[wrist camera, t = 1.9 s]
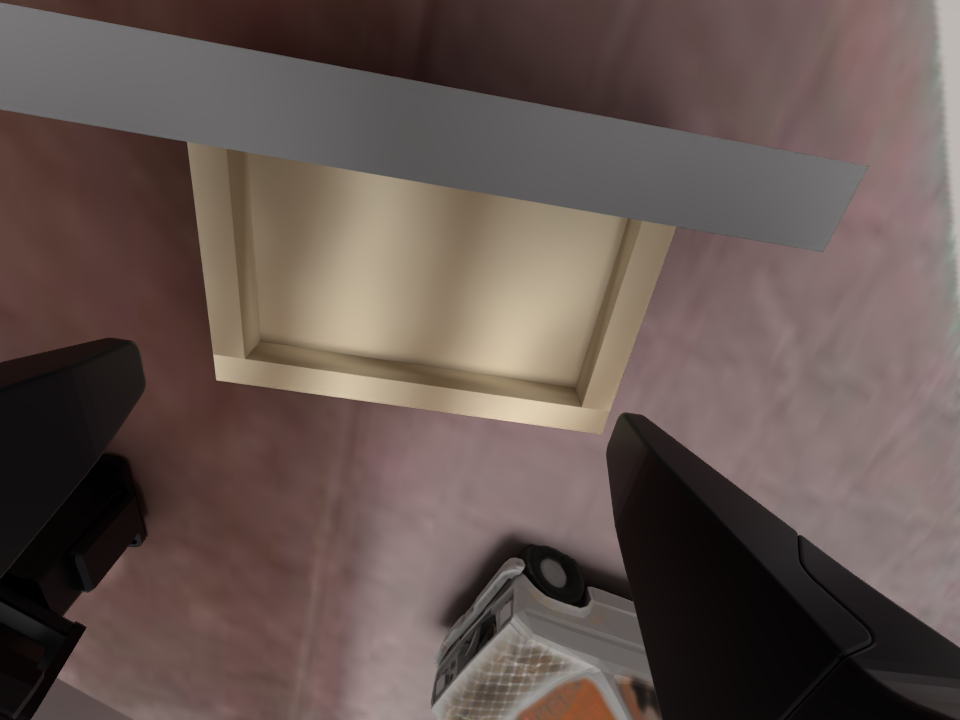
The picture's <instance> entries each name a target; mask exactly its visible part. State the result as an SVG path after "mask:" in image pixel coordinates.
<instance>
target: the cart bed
mask: <svg viewBox="0 0 960 720" xmlns="http://www.w3.org/2000/svg"><path fill="white" fill-rule="evenodd" d="M187 145H188V153H189V162H190V170H191V178H192V186H193V194H194V202H195V210H196V218H197V226H198V235H199V243H200V251H201V259H202V267H203V275H204V283H205V291H206V299H207V307H208V316H209V324H210V332H211V340H212V348H213V356H214V364H215V372H216V380H218V381H226V382H233V383H240V384H247V385H254V386H261V387H268V388H275V389H283V390H290V391H297V392H304V393H311V394H318V395H325V396H332V397H340V398H347V399H354V400H361V401H368V402H375V403H382V404H390V405H397V406H404V407H411V408H418V409H425V410H432V411H439V412H447V413H454V414H461V415H468V416H475V417H482V418H489V419H496V420H504V421H511V422H518V423H525V424H532V425H539V426H546V427H554V428H561V429H568V430H575V431H582V432H589V433H596V434H602V431H603V429H604V426H605V423H606V420H607V418H608V415H609V412H610V409H611V407H612V404H613V401H614V398H615V396H616V393H617V390H618V387H619V385H620V382H621V379H622V376H623V374H624V371H625V368H626V365H627V363H628V360H629V357H630V354H631V352H632V349H633V346H634V343H635V341H636V338H637V335H638V332H639V330H640V327H641V324H642V321H643V318H644V316H645V313H646V310H647V307H648V305H649V302H650V299H651V296H652V294H653V291H654V288H655V285H656V283H657V280H658V277H659V274H660V272H661V269H662V266H663V263H664V261H665V258H666V255H667V252H668V250H669V247H670V244H671V241H672V239H673V236H674V233H675V230H676V228H677V227H675V226H669V225H663V224H658V223H652V222H646V221H640V220H635V219H629V218H623V217H617V216H612V215H606V214H600V213H594V212H589V211H583V210H577V209H571V208H566V207H560V206H554V205H548V204H543V203H537V202H531V201H525V200H520V199H514V198H508V197H502V196H496V195H491V194H485V193H479V192H473V191H468V190H462V189H456V188H450V187H445V186H439V185H433V184H427V183H422V182H416V181H410V180H404V179H399V178H393V177H387V176H381V175H376V174H370V173H364V172H358V171H353V170H347V169H341V168H335V167H329V166H324V165H318V164H312V163H306V162H301V161H295V160H289V159H283V158H278V157H272V156H266V155H260V154H255V153H249V152H243V151H237V150H232V149H226V148H220V147H214V146H209V145H203V144H197V143H191V142H187Z"/></svg>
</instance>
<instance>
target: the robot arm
mask: <svg viewBox="0 0 960 720" xmlns="http://www.w3.org/2000/svg"><path fill="white" fill-rule="evenodd" d="M145 385H146V379H145V374H144V369H143V364H142V359H141V355H140V350H139V347H138V345H137V344H136V343H135V342H133V341H130V340H124V339H117V338H104V339H100V340H96V341H91V342H87V343H83V344H78V345H74V346H70V347H65V348H61V349H57V350H52V351H48V352H43V353H39V354H35V355H30V356H26V357H22V358H17V359H13V360H9V361H4V362H0V720H30V719H31V718H32V717H33V715H34V714H35V712H36V711H37V709H38V707H39V705H40V704H41V702H42V701H43V699H44V697H45V696H46V694H47V692H48V691H49V689H50V687H51V686H52V684H53V683H54V681H55V679H56V678H57V676H58V674H59V673H60V671H61V669H62V668H63V666H64V664H65V663H66V661H67V659H68V658H69V656H70V654H71V653H72V651H73V649H74V648H75V646H76V644H77V643H78V641H79V639H80V638H81V636H82V634H83V633H84V631H85V629H86V626H84V625H82V624H80V623H79V622H77V621H76V622H72V621H70V620H68V619H66V618H65V617H63V615H64V614H65V613H66V612H67V610H68V609H69V608H70V607H71V606H72V604H73V603H74V602H75V601H76V599H77V598H78V597H79V596H80V594H81V593H82V592H86V593H88V592H90V591H92V590H93V589H95V588H96V586H97V585H98V584H99V583H100V581H101V580H102V579H103V577H104V576H105V575H106V574H107V572H108V571H109V570H110V569H111V567H112V566H113V565H114V564H115V562H116V561H117V560H118V558H119V557H120V556H121V555H122V553H123V552H124V551H125V550H126V548H127V547H128V546H129V547H139V546H140V545H141V544H142V543H143V542H144V540H145V539H146V536H145V532H144V528H143V524H142V520H141V516H140V512H139V508H138V504H137V500H136V497H135V493H134V489H133V485H132V481H131V477H130V473H129V469H128V465H127V463H126V462H125V461H124V460H122V459H121V458H118V457H112V456H104V455H102V454H103V452H104V451H105V450H106V448H107V447H108V445H109V444H110V442H111V441H112V439H113V438H114V436H115V435H116V433H117V432H118V430H119V429H120V427H121V426H122V424H123V423H124V421H125V420H126V418H127V417H128V415H129V414H130V412H131V411H132V409H133V407H134V406H135V404H136V403H137V401H138V400H139V398H140V397H141V395H142V394H143V392H144V389H145ZM606 458H607V467H608V475H609V483H610V491H611V499H612V507H613V516H614V522H615V528H616V533H617V537H618V541H619V546H620V550H621V554H622V558H623V562H624V566H625V570H626V574H627V578H628V582H629V586H630V590H631V595H632V599H633V603H634V607H635V611H636V615H637V619H638V623H639V627H640V631H641V635H642V640H643V644H644V648H645V652H646V656H647V660H648V664H649V668H650V672H651V676H652V680H653V685H654V689H655V693H656V697H657V701H658V705H659V709H660V713H661V717H662V720H960V647H958V646H957V645H955V644H954V643H952V642H951V641H950V640H948V639H947V638H945V637H944V636H942V635H941V634H939V633H938V632H936V631H935V630H933V629H932V628H931V627H929V626H928V625H926V624H925V623H923V622H922V621H920V620H919V619H917V618H916V617H914V616H913V615H912V614H910V613H909V612H907V611H906V610H904V609H903V608H901V607H900V606H898V605H897V604H895V603H894V602H893V601H891V600H890V599H888V598H887V597H885V596H884V595H883V594H881V593H880V592H878V591H877V590H875V589H874V588H873V587H871V586H870V585H868V584H867V583H865V582H864V581H863V580H861V579H860V578H858V577H857V576H855V575H854V574H853V573H851V572H850V571H849V570H847V569H846V568H845V567H843V566H842V565H841V564H839V563H838V562H836V561H835V560H834V559H832V558H831V557H830V556H828V555H827V554H826V553H824V552H823V551H822V550H820V549H819V548H818V547H816V546H815V545H814V544H812V543H811V542H810V541H808V540H807V539H806V538H805V537H803V536H802V535H799V536H798V534H797V532H796V531H795V530H794V529H793V528H791V527H790V526H789V525H787V524H786V523H785V522H783V521H782V520H781V519H779V518H778V517H777V516H775V515H774V514H773V513H771V512H770V511H769V510H767V509H766V508H765V507H763V506H762V505H761V504H760V503H758V502H757V501H756V500H754V499H753V498H752V497H750V496H749V495H748V494H746V493H745V492H744V491H742V490H741V489H740V488H738V487H737V486H736V485H734V484H733V483H732V482H730V481H729V480H728V479H727V478H725V477H724V476H723V475H721V474H720V473H719V472H717V471H716V470H715V469H713V468H712V467H711V466H709V465H708V464H707V463H705V462H704V461H703V460H701V459H700V458H699V457H698V456H696V455H695V454H694V453H692V452H691V451H690V450H688V449H687V448H686V447H684V446H683V445H682V444H680V443H679V442H678V441H676V440H675V439H674V438H673V437H671V436H670V435H669V434H667V433H666V432H665V431H663V430H662V429H661V428H659V427H658V426H657V425H655V424H654V423H653V422H651V421H650V420H649V419H647V418H646V417H645V416H643V415H640V414H633V413H622V414H620V416H619V417H618V419H617V422H616V424H615V427H614V430H613V432H612V435H611V438H610V440H609V443H608V446H607V452H606Z"/></svg>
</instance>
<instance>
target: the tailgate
mask: <svg viewBox="0 0 960 720" xmlns="http://www.w3.org/2000/svg"><path fill="white" fill-rule="evenodd" d="M0 109H1V110H7V111H13V112H19V113H24V114H30V115H36V116H42V117H47V118H53V119H59V120H65V121H70V122H76V123H82V124H88V125H93V126H99V127H105V128H111V129H116V130H122V131H128V132H134V133H139V134H145V135H151V136H157V137H162V138H168V139H174V140H180V141H186V142H191V143H197V144H203V145H209V146H214V147H220V148H226V149H232V150H237V151H243V152H249V153H255V154H260V155H266V156H272V157H278V158H283V159H289V160H295V161H301V162H306V163H312V164H318V165H324V166H329V167H335V168H341V169H347V170H353V171H358V172H364V173H370V174H376V175H381V176H387V177H393V178H399V179H404V180H410V181H416V182H422V183H427V184H433V185H439V186H445V187H450V188H456V189H462V190H468V191H473V192H479V193H485V194H491V195H496V196H502V197H508V198H514V199H520V200H525V201H531V202H537V203H543V204H548V205H554V206H560V207H566V208H571V209H577V210H583V211H589V212H594V213H600V214H606V215H612V216H617V217H623V218H629V219H635V220H640V221H646V222H652V223H658V224H663V225H669V226H675V227H681V228H687V229H692V230H698V231H704V232H710V233H715V234H721V235H727V236H733V237H738V238H744V239H750V240H756V241H761V242H767V243H773V244H779V245H784V246H790V247H796V248H802V249H807V250H813V251H819V252H824V250H825V248H826V247H827V245H828V243H829V241H830V239H831V237H832V235H833V233H834V231H835V229H836V228H837V226H838V224H839V222H840V220H841V218H842V216H843V214H844V212H845V210H846V209H847V207H848V205H849V203H850V201H851V199H852V197H853V195H854V193H855V191H856V189H857V188H858V186H859V184H860V182H861V180H862V178H863V176H864V174H865V172H866V170H867V169H868V167H869V166H865V165H860V164H855V163H849V162H844V161H839V160H834V159H828V158H823V157H818V156H812V155H807V154H802V153H796V152H791V151H786V150H781V149H775V148H770V147H765V146H759V145H754V144H749V143H743V142H738V141H733V140H727V139H722V138H717V137H712V136H706V135H701V134H696V133H690V132H685V131H680V130H674V129H669V128H664V127H658V126H653V125H648V124H643V123H637V122H632V121H627V120H621V119H616V118H611V117H605V116H600V115H595V114H590V113H584V112H579V111H574V110H568V109H563V108H558V107H552V106H547V105H542V104H536V103H531V102H526V101H521V100H515V99H510V98H505V97H499V96H494V95H489V94H483V93H478V92H473V91H468V90H462V89H457V88H452V87H446V86H441V85H436V84H430V83H425V82H420V81H414V80H409V79H404V78H399V77H393V76H388V75H383V74H377V73H372V72H367V71H361V70H356V69H351V68H346V67H340V66H335V65H330V64H324V63H319V62H314V61H308V60H303V59H298V58H292V57H287V56H282V55H277V54H271V53H266V52H261V51H255V50H250V49H245V48H239V47H234V46H229V45H223V44H218V43H213V42H208V41H202V40H197V39H192V38H186V37H181V36H176V35H170V34H165V33H160V32H155V31H149V30H144V29H139V28H133V27H128V26H123V25H117V24H112V23H107V22H101V21H96V20H91V19H86V18H80V17H75V16H70V15H64V14H59V13H54V12H48V11H43V10H38V9H33V8H27V7H22V6H17V5H11V4H6V3H1V2H0Z"/></svg>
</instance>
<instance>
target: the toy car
mask: <svg viewBox="0 0 960 720" xmlns="http://www.w3.org/2000/svg"><path fill="white" fill-rule="evenodd" d="M434 663H435V665H436V666H437V667H438V670H437V673H436V677H435V682H434V687H433V692H432V699H431V711H432V712H433V713H434V715H435V716H436V717H437V719H438V720H662V717H661V713H660V709H659V705H658V701H657V697H656V693H655V689H654V685H653V680H652V676H651V672H650V668H649V664H648V660H647V656H646V652H645V648H644V644H643V640H642V635H641V631H640V627H639V623H638V619H637V615H636V611H635V607H634V603H633V601H630V600H628V599H625V598H622V597H619V596H617V595H614V594H611V593H608V592H605V591H603V590H600V589H597V588H594V587H587V588H586V589H585V590H584V579H583V577H582V574H581V571H580V569H579V567H578V565H577V564H576V562H575V561H574V559H572V558H570V557H569V556H568V555H565V554H563V553H561V552H559V551H558V550H556V549H553V548H551V547H547V546H538V545H530V546H528V547H527V548H526V549H525V550H524V551H523V553H522V554H521V555H520V559H519V558H510V559H509V560H507V561H506V562H505V563H504V564H503V565H502V567H501V568H500V569H499V570H498V572H497V573H496V574H495V575H494V577H493V578H492V579H491V580H490V582H489V583H488V584H487V586H486V587H485V588H484V589H483V591H482V592H481V593H480V594H479V596H478V597H477V598H476V599H475V602H474V604H473V605H472V606H471V607H470V608H469V610H468V611H467V612H466V613H465V614H464V615H462V616H461V617H460V618H459V619H458V620H457V622H456V623H455V624H454V625H453V626H452V627H451V629H450V630H449V631H448V633H447V635H446V637H445V639H444V642H443V644H442V646H441V648H440V650H439V652H438V654H437V655H436V657H435V660H434Z"/></svg>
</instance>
